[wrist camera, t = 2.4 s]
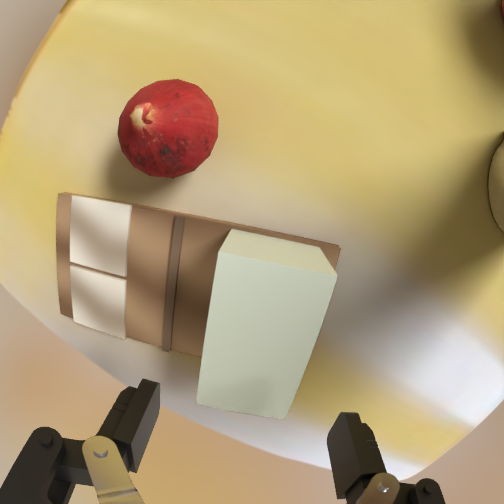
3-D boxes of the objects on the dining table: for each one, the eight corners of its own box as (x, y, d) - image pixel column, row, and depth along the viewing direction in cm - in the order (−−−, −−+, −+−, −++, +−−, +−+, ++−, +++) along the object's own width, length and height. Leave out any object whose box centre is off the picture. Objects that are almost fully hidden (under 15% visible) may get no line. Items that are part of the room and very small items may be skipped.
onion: (237, 159, 19) (219, 153, 11) (161, 187, 20) (104, 200, 12) (212, 84, 18) (180, 39, 10) (138, 114, 18) (76, 94, 11)
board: (65, 191, 20) (55, 193, 19) (337, 243, 20) (342, 249, 19) (66, 309, 23) (58, 316, 22) (297, 368, 24) (299, 378, 22)
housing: (231, 228, 19) (218, 251, 14) (319, 247, 19) (337, 275, 14) (209, 356, 22) (195, 403, 17) (282, 370, 22) (284, 419, 17)
